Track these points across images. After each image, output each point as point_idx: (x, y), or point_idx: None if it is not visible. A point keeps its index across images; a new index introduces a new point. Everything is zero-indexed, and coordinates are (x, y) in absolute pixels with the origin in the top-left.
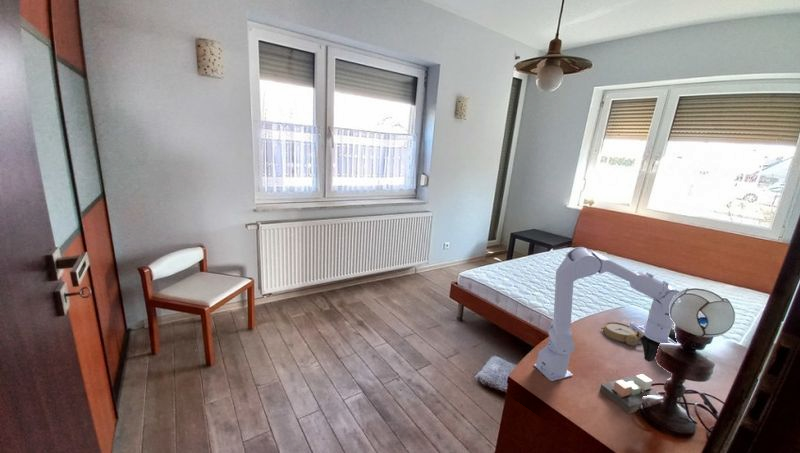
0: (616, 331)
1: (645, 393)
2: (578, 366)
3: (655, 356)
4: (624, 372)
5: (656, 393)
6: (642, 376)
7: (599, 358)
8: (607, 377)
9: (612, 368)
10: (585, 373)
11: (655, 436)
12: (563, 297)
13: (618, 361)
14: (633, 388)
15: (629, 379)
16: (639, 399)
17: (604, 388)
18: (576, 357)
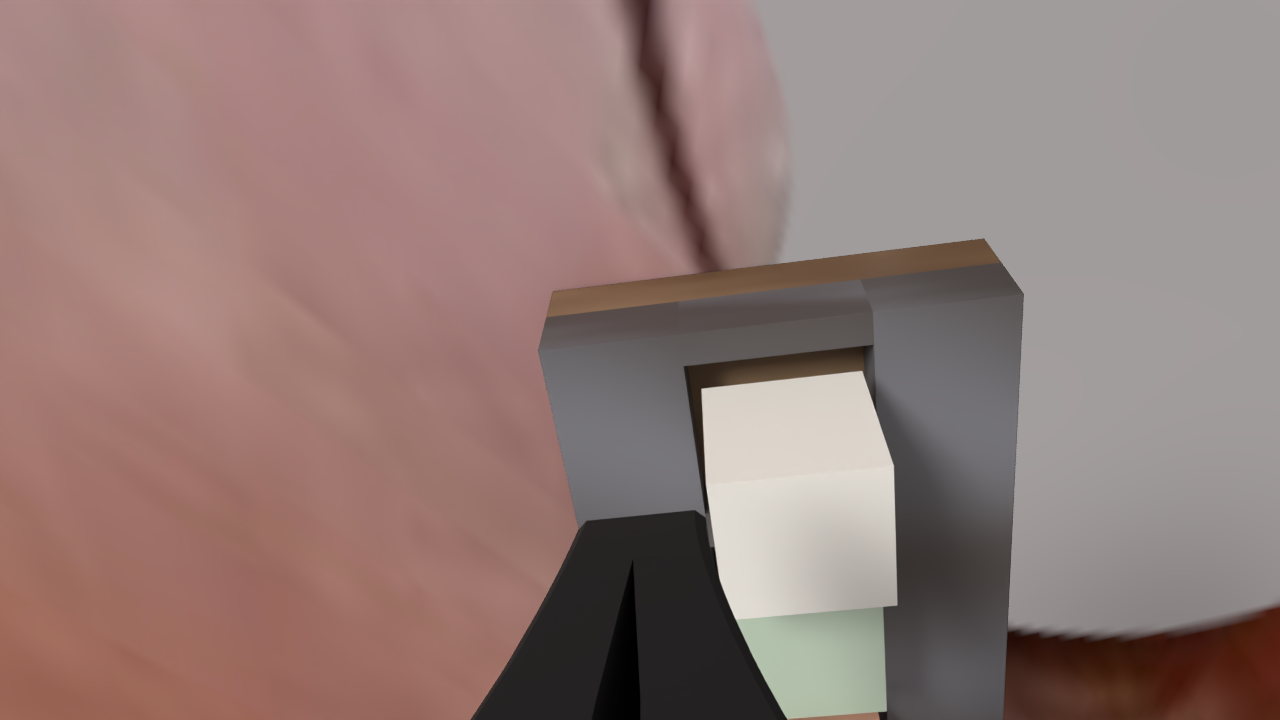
0: None
1: (899, 485)
2: (248, 687)
3: (725, 604)
4: (338, 204)
5: (947, 332)
6: (765, 542)
7: (19, 329)
8: (444, 518)
9: (252, 316)
10: (372, 693)
11: (1255, 684)
12: None
13: (42, 61)
14: (864, 703)
15: (613, 468)
16: (955, 634)
17: None
18: (61, 608)
